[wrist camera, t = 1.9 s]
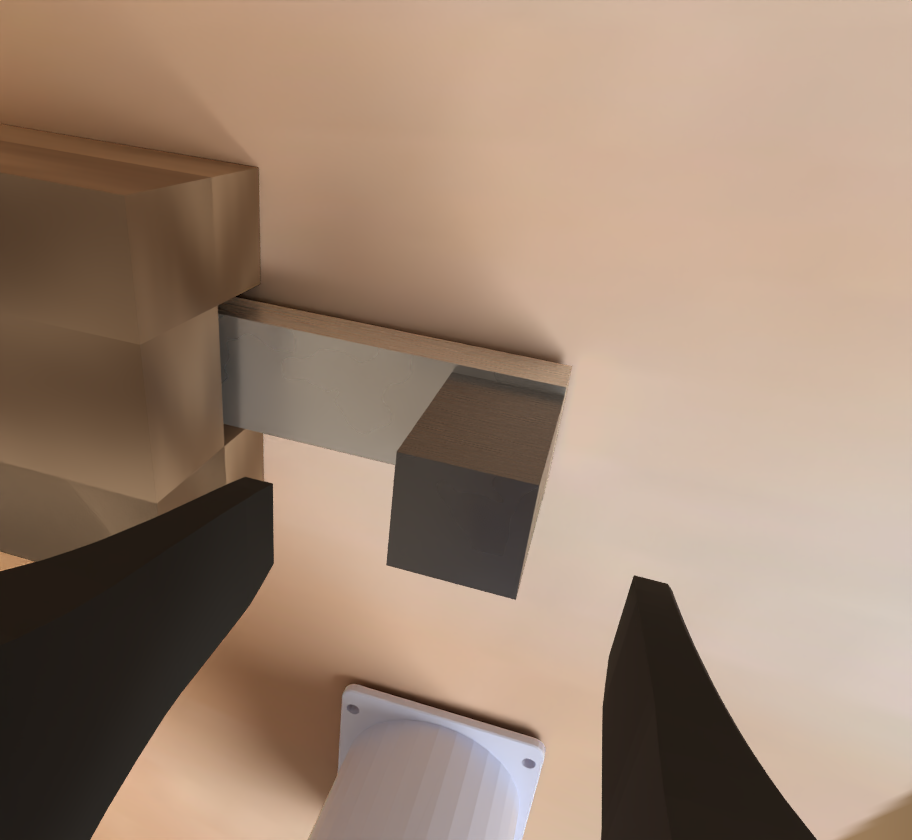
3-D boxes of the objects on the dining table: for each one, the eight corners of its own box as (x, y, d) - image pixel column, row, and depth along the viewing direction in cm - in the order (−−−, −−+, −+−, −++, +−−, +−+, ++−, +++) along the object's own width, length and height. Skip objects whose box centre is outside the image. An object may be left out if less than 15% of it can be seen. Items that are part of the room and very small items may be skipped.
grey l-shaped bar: (549, 474, 20) (513, 607, 15) (-113, 319, 24) (-322, 382, 19) (572, 366, 19) (541, 474, 13) (-142, 219, 23) (-378, 259, 17)
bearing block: (263, 497, 24) (167, 600, 19) (43, 440, 25) (-98, 522, 21) (258, 167, 19) (124, 195, 14) (-18, 120, 20) (-224, 131, 16)
